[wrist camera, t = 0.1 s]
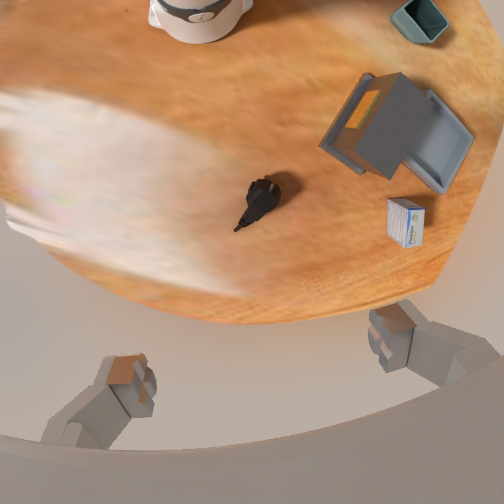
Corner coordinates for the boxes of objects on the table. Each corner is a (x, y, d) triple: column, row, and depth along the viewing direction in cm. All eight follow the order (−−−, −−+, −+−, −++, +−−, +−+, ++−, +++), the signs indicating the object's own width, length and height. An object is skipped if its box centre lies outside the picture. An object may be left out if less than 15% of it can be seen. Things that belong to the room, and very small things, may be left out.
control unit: (317, 146, 55) (344, 152, 43) (363, 73, 50) (398, 63, 37) (357, 174, 58) (391, 188, 45) (400, 104, 52) (440, 103, 40)
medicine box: (402, 231, 64) (422, 246, 56) (385, 233, 63) (404, 249, 55) (403, 197, 60) (426, 208, 53) (386, 198, 60) (407, 210, 52)
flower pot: (426, 31, 46) (451, 24, 38) (407, 50, 48) (431, 43, 40) (400, 1, 43) (422, -11, 35) (379, 19, 45) (400, 7, 37)
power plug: (221, 226, 59) (252, 192, 49) (233, 198, 63) (264, 163, 53) (246, 240, 60) (281, 210, 51) (256, 212, 64) (290, 181, 55)
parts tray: (384, 148, 56) (395, 150, 52) (418, 89, 51) (430, 89, 47) (432, 190, 60) (443, 195, 56) (461, 136, 56) (474, 138, 52)
